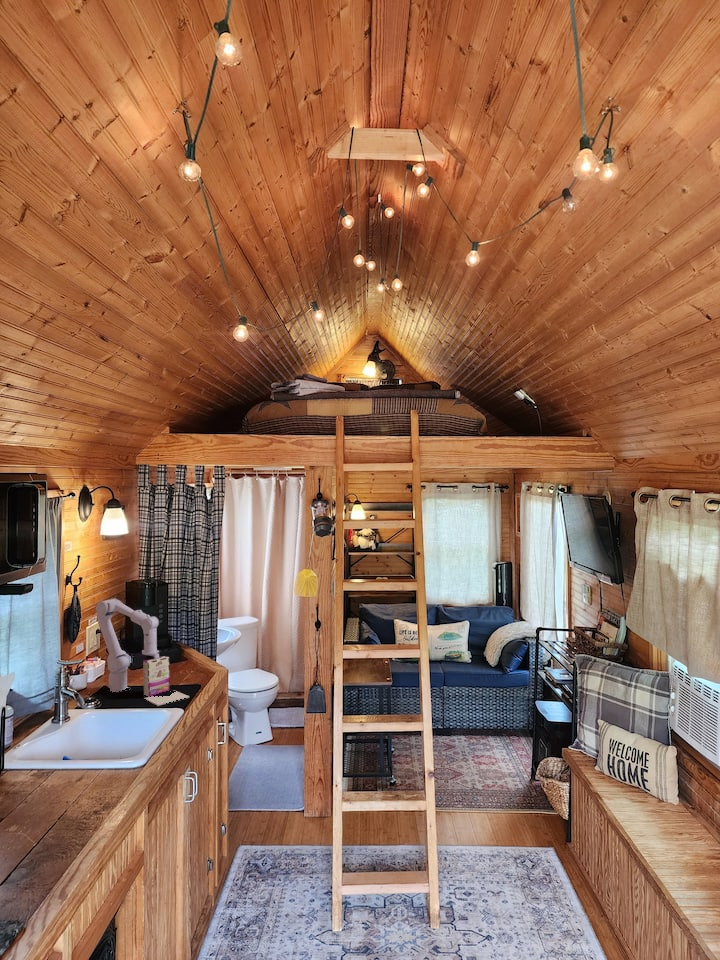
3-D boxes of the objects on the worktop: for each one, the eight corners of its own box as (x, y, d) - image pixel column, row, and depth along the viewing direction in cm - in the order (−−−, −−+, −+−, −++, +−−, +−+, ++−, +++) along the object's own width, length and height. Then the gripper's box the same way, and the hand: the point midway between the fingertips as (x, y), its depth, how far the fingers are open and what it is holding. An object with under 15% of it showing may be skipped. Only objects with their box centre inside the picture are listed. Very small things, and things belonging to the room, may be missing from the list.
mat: (144, 699, 261) (144, 698, 261) (174, 691, 272) (174, 690, 272) (157, 705, 251) (157, 704, 251) (189, 697, 262) (189, 696, 262)
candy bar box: (164, 690, 275) (164, 655, 276) (170, 692, 272) (169, 656, 273) (142, 696, 266) (142, 660, 267) (148, 698, 263) (148, 661, 264)
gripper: (165, 643, 273) (165, 672, 272) (151, 639, 283) (152, 667, 282) (150, 645, 268) (151, 675, 267) (137, 641, 278) (138, 670, 277)
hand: (150, 671), depth 274 cm, fingers closed
